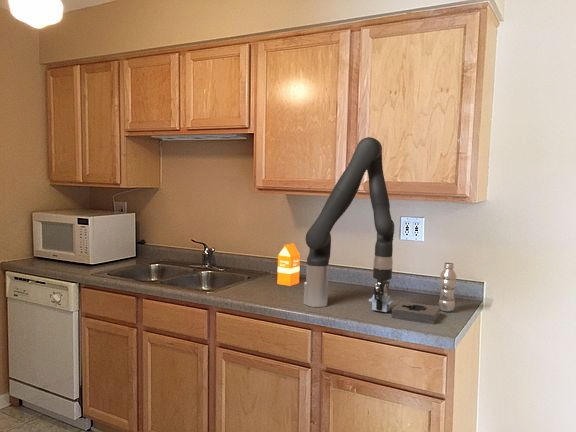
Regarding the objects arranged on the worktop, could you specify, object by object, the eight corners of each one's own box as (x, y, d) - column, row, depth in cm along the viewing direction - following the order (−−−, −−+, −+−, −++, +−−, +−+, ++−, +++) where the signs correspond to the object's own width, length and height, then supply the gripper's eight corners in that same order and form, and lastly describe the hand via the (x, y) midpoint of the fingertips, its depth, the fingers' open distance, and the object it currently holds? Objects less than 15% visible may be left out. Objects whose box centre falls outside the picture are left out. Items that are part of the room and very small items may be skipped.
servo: (368, 309, 200) (369, 291, 199) (371, 306, 203) (372, 289, 203) (390, 312, 196) (391, 295, 195) (392, 310, 199) (393, 293, 199)
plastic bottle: (454, 309, 206) (456, 262, 204) (455, 313, 199) (457, 265, 197) (438, 308, 207) (440, 261, 206) (438, 312, 201) (441, 264, 199)
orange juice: (299, 282, 250) (300, 243, 248) (290, 285, 242) (291, 245, 241) (286, 280, 254) (287, 242, 252) (276, 283, 246) (277, 244, 245)
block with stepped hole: (391, 317, 191) (392, 309, 191) (400, 309, 204) (401, 301, 203) (433, 324, 184) (434, 315, 184) (440, 315, 196) (440, 306, 196)
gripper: (378, 263, 206) (376, 303, 207) (368, 268, 193) (366, 311, 195) (396, 265, 203) (394, 305, 204) (387, 270, 190) (384, 314, 191)
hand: (380, 308), depth 199 cm, fingers closed on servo, 4 cm apart
